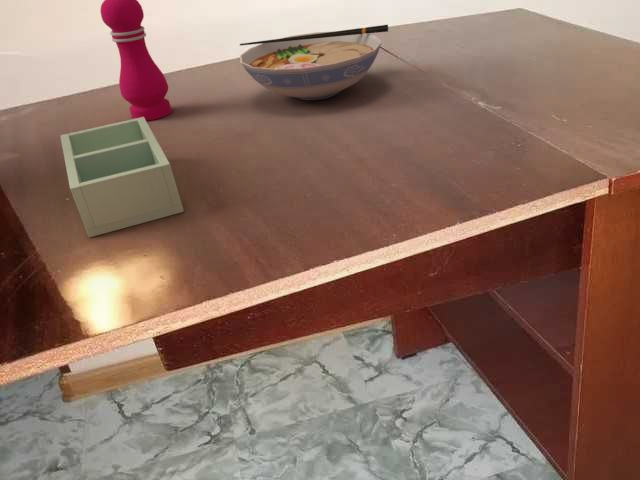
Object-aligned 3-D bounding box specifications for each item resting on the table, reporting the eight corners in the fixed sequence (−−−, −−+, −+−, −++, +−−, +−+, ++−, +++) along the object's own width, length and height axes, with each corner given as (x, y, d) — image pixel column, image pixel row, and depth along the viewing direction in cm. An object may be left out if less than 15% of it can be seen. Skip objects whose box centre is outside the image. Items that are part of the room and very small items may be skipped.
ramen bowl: (229, 124, 106) (216, 70, 102) (254, 80, 125) (244, 34, 121) (393, 109, 106) (387, 54, 101) (392, 67, 125) (388, 20, 121)
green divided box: (88, 238, 77) (69, 188, 74) (76, 178, 93) (60, 135, 90) (184, 211, 81) (169, 163, 78) (156, 158, 96) (143, 116, 93)
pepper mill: (184, 108, 115) (149, -21, 104) (153, 124, 109) (113, -12, 99) (151, 106, 118) (113, -21, 107) (119, 120, 112) (76, -11, 102)
